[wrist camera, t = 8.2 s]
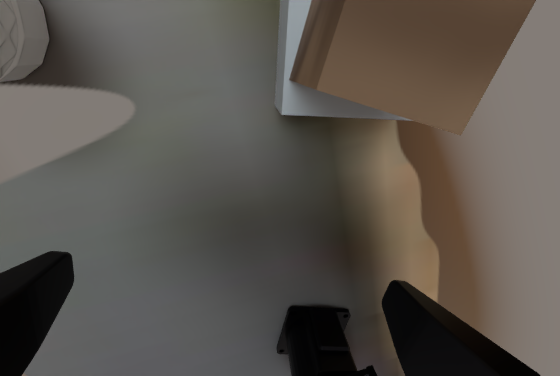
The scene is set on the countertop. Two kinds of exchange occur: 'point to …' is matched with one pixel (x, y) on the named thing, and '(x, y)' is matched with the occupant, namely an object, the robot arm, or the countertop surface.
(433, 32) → the walnut cube
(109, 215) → the countertop surface
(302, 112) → the riser block
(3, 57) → the white cup
